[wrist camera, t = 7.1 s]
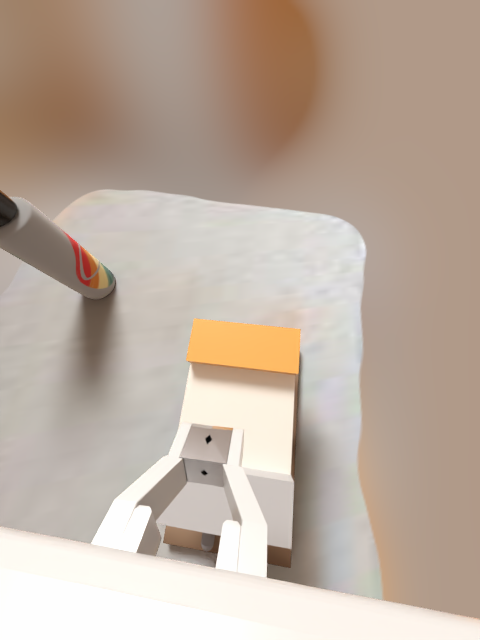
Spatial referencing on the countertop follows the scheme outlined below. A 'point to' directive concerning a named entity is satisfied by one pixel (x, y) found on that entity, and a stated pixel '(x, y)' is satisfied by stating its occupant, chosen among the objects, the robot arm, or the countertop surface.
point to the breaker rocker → (242, 420)
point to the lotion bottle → (50, 249)
